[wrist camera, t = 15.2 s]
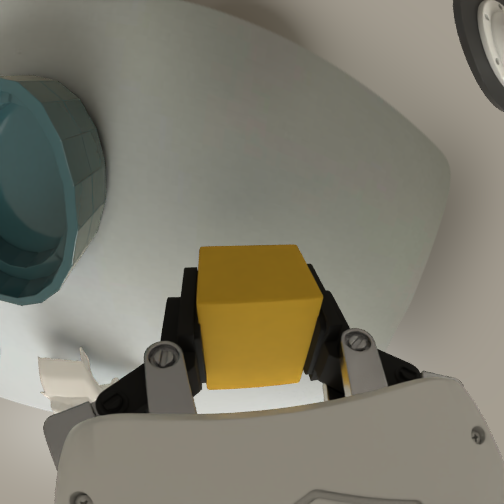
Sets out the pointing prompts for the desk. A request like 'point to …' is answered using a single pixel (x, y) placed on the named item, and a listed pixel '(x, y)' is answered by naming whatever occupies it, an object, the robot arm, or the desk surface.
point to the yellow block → (255, 314)
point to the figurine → (69, 382)
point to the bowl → (45, 186)
